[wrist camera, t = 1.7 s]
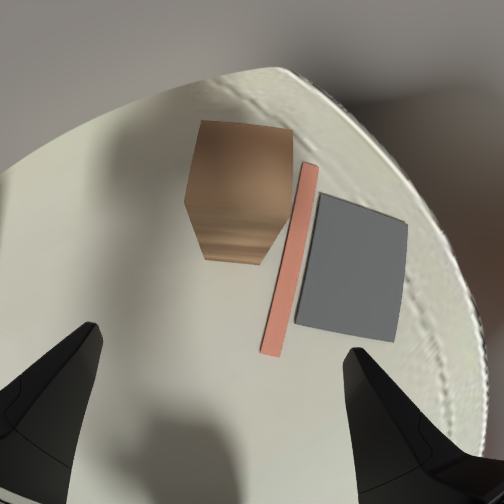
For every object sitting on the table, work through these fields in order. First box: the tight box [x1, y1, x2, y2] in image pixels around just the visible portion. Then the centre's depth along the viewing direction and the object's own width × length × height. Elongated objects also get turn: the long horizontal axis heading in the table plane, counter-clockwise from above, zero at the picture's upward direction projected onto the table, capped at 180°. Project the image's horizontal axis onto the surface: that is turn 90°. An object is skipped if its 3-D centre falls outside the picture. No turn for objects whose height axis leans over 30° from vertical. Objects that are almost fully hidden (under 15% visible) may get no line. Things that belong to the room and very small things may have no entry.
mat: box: [295, 194, 408, 342], centre depth 24 cm, size 12×10×1 cm
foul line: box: [260, 162, 319, 357], centre depth 24 cm, size 18×2×1 cm, turn 166°
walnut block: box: [184, 120, 293, 265], centre depth 18 cm, size 5×5×12 cm
